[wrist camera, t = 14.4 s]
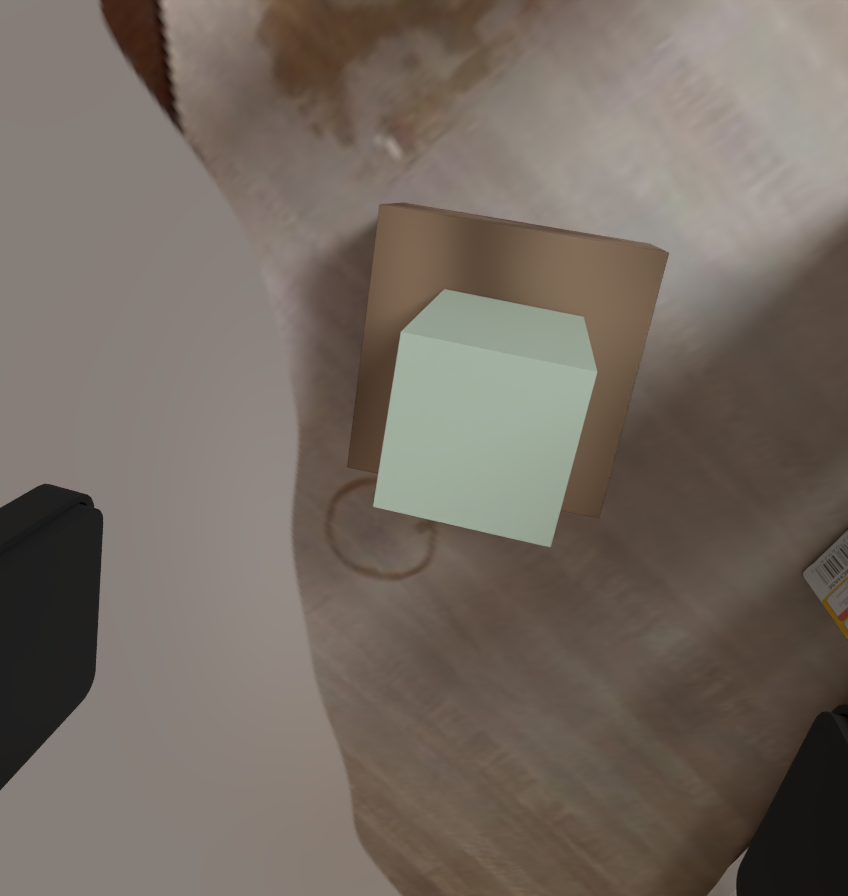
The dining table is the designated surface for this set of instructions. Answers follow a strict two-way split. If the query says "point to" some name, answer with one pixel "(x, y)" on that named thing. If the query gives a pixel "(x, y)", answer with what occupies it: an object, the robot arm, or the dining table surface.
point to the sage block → (486, 415)
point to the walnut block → (518, 281)
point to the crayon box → (832, 581)
